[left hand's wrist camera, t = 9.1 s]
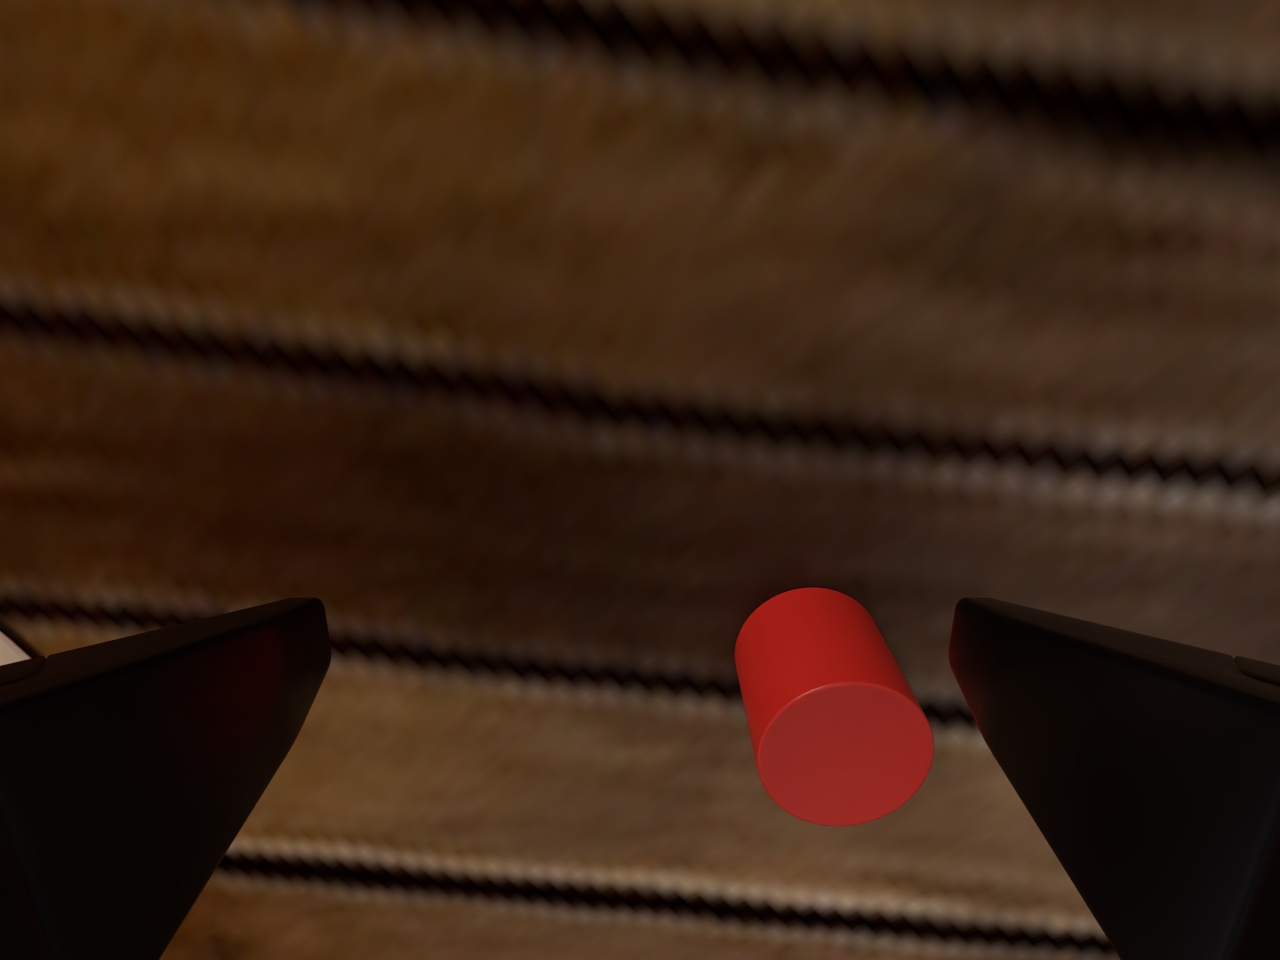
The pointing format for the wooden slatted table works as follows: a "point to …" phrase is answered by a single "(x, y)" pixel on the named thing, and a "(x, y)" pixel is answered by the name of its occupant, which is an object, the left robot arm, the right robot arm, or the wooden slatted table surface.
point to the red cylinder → (829, 710)
